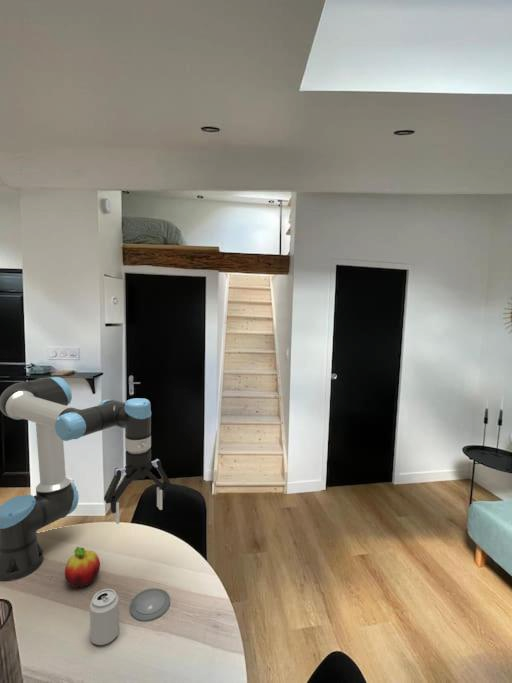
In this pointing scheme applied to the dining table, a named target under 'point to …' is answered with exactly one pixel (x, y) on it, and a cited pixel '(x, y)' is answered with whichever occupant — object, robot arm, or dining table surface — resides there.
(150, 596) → the saucer
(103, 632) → the can
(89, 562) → the fruit
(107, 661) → the dining table surface
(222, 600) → the dining table surface
